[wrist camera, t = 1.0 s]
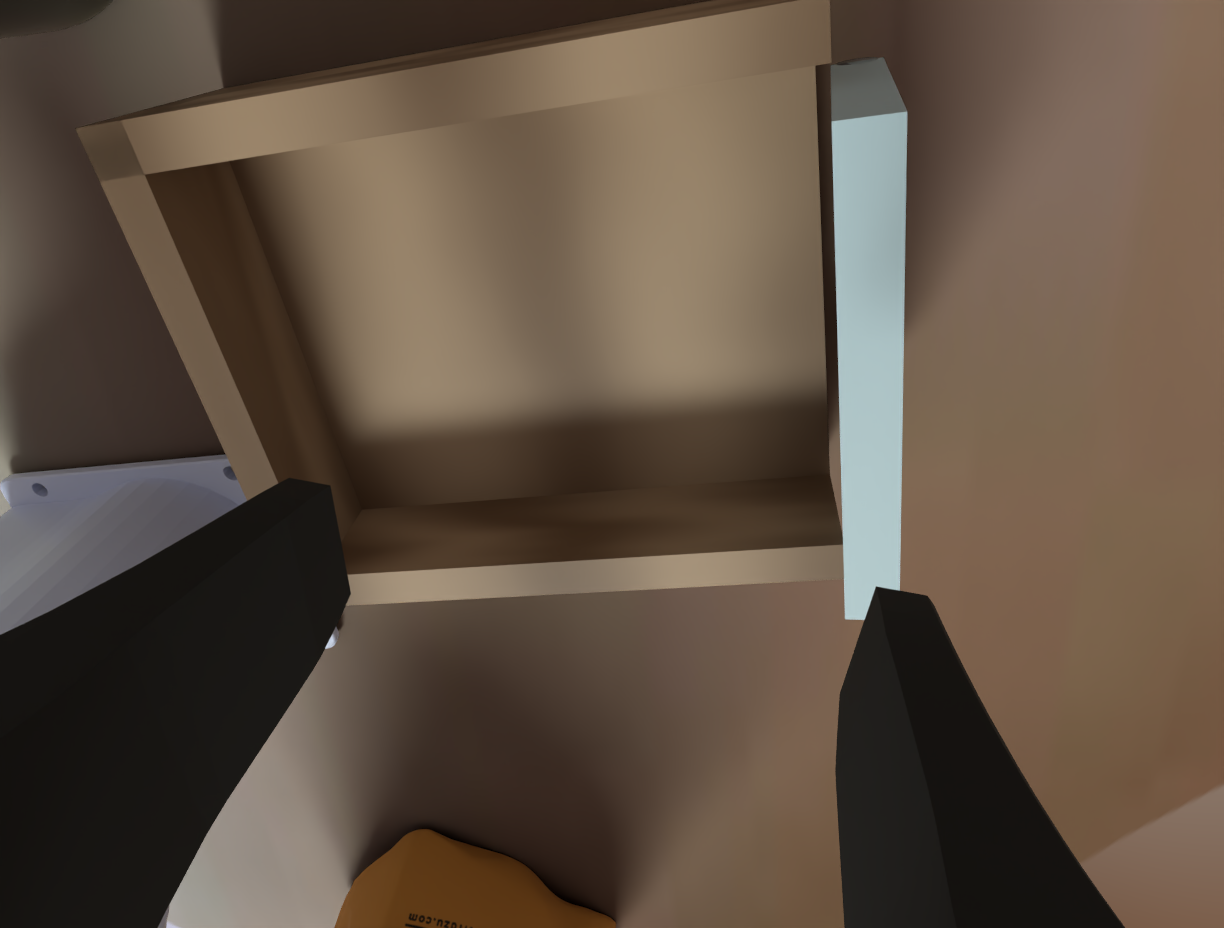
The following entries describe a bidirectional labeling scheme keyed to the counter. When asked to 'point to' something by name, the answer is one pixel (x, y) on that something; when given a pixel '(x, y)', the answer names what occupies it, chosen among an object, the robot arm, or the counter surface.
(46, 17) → the supplement bottle
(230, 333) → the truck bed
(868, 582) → the panel
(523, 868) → the coffee package
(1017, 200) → the counter surface
